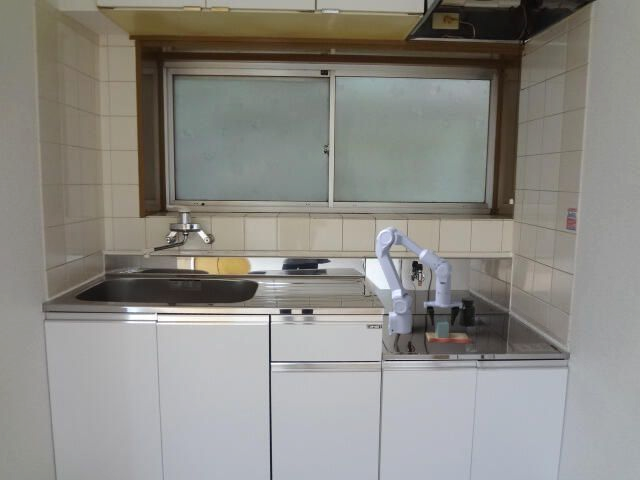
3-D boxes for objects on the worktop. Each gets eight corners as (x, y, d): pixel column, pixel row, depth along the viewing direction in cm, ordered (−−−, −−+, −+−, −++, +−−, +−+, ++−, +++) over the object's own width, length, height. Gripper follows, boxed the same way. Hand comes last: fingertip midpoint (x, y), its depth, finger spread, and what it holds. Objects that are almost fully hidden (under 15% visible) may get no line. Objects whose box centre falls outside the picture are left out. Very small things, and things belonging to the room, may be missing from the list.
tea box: (437, 338, 176) (438, 323, 175) (435, 332, 182) (435, 318, 181) (448, 338, 176) (449, 324, 175) (445, 332, 182) (446, 318, 181)
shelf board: (429, 344, 173) (429, 338, 172) (425, 334, 183) (425, 329, 182) (471, 345, 172) (471, 339, 171) (465, 335, 181) (465, 329, 181)
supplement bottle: (476, 329, 188) (477, 301, 186) (459, 328, 189) (460, 301, 187) (473, 323, 195) (475, 297, 192) (457, 322, 196) (458, 296, 194)
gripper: (425, 294, 173) (425, 328, 175) (464, 294, 171) (463, 328, 174) (423, 289, 180) (422, 322, 182) (460, 289, 178) (459, 322, 181)
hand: (442, 324), depth 178 cm, fingers open, 7 cm apart
